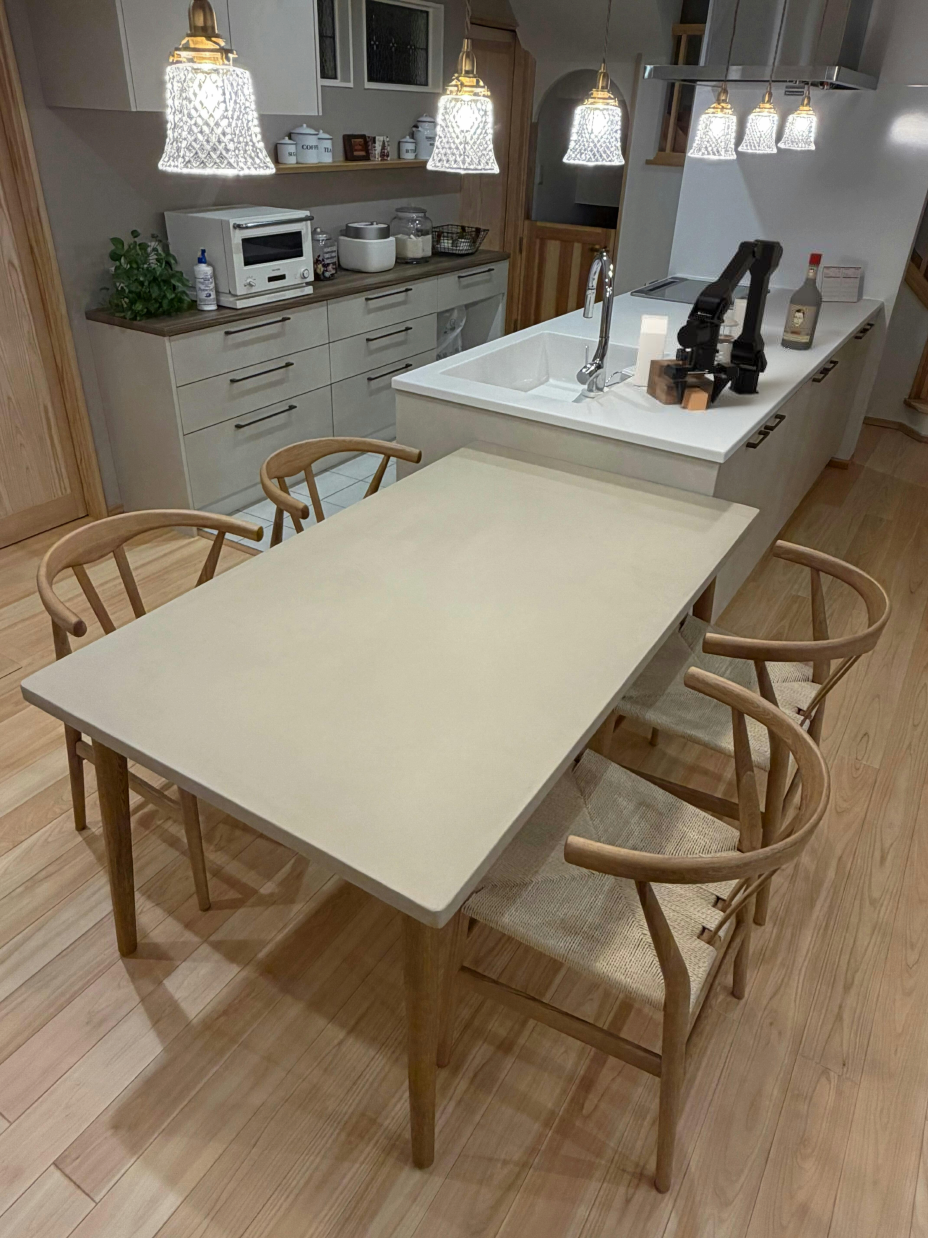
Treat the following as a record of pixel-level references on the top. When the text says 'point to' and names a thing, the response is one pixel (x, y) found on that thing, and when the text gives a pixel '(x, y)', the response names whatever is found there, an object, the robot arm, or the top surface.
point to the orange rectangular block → (694, 399)
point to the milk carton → (650, 345)
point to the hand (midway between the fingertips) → (696, 403)
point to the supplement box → (738, 317)
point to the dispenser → (665, 387)
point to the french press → (725, 341)
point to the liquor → (803, 310)
